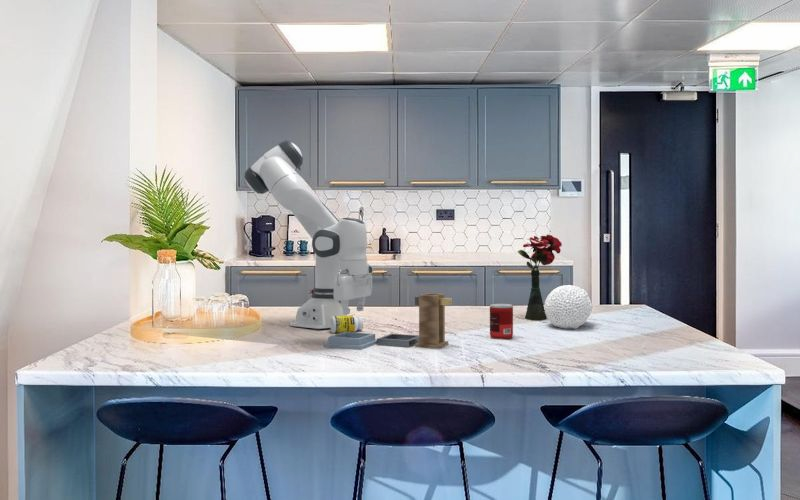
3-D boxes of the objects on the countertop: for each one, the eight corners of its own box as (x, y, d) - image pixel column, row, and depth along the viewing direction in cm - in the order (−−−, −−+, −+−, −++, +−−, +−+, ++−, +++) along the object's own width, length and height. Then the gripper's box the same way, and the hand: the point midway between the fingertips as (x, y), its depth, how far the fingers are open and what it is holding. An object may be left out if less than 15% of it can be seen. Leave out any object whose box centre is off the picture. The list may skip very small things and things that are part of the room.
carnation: (509, 320, 248) (509, 234, 248) (550, 318, 252) (550, 234, 252) (525, 325, 233) (525, 234, 232) (569, 324, 237) (569, 234, 237)
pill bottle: (333, 316, 212) (363, 314, 216) (329, 316, 218) (359, 314, 222) (333, 334, 212) (364, 332, 215) (330, 333, 218) (360, 331, 221)
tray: (323, 346, 189) (323, 337, 189) (343, 340, 201) (343, 331, 201) (361, 349, 184) (361, 339, 184) (379, 342, 196) (379, 333, 196)
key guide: (415, 346, 188) (415, 295, 188) (424, 342, 195) (424, 293, 195) (439, 348, 185) (439, 296, 185) (448, 344, 192) (448, 293, 192)
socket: (376, 345, 192) (376, 338, 192) (391, 339, 202) (391, 333, 202) (409, 347, 187) (409, 340, 187) (422, 341, 197) (422, 335, 197)
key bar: (414, 305, 190) (414, 296, 190) (419, 303, 194) (419, 295, 194) (448, 306, 186) (448, 298, 186) (452, 305, 189) (452, 296, 189)
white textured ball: (583, 334, 212) (583, 287, 212) (535, 330, 221) (535, 285, 221) (598, 327, 229) (598, 283, 228) (552, 323, 238) (552, 282, 238)
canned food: (515, 336, 208) (515, 304, 208) (509, 339, 201) (509, 306, 200) (493, 334, 211) (493, 303, 211) (487, 338, 204) (486, 305, 204)
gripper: (346, 270, 181) (347, 317, 182) (375, 267, 200) (375, 309, 200) (328, 270, 184) (328, 316, 184) (358, 267, 203) (358, 308, 203)
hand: (353, 312), depth 192 cm, fingers open, 8 cm apart
